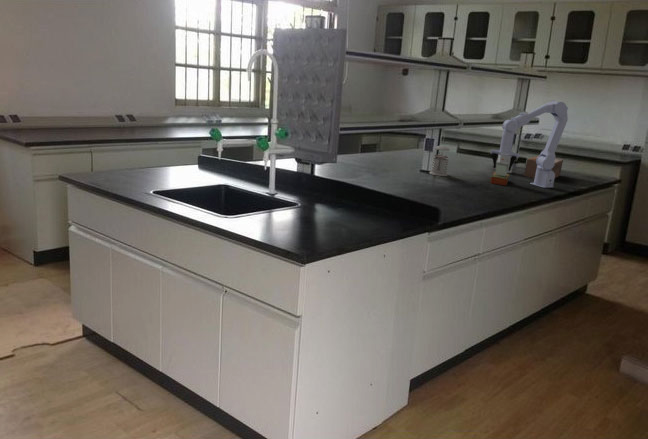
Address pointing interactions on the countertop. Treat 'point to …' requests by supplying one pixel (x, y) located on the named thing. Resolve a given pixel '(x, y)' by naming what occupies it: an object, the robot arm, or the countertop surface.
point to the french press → (440, 162)
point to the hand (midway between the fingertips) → (501, 169)
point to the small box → (505, 160)
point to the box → (501, 169)
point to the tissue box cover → (532, 167)
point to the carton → (499, 179)
